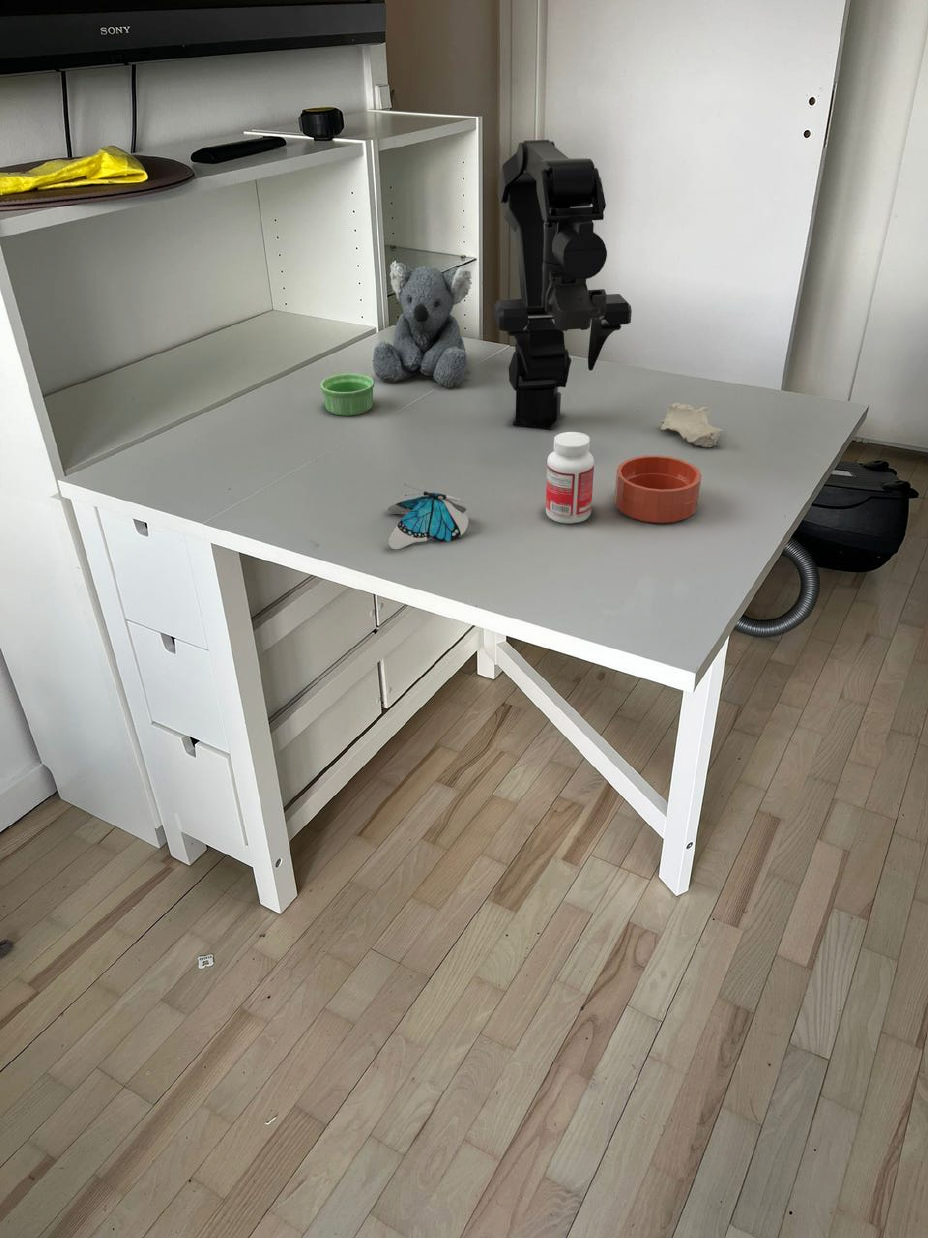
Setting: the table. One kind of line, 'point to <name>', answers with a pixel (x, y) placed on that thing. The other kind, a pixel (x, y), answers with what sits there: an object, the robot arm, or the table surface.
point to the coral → (691, 424)
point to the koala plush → (425, 326)
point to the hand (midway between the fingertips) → (559, 371)
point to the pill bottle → (570, 478)
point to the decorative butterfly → (428, 520)
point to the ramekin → (348, 394)
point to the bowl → (657, 488)
